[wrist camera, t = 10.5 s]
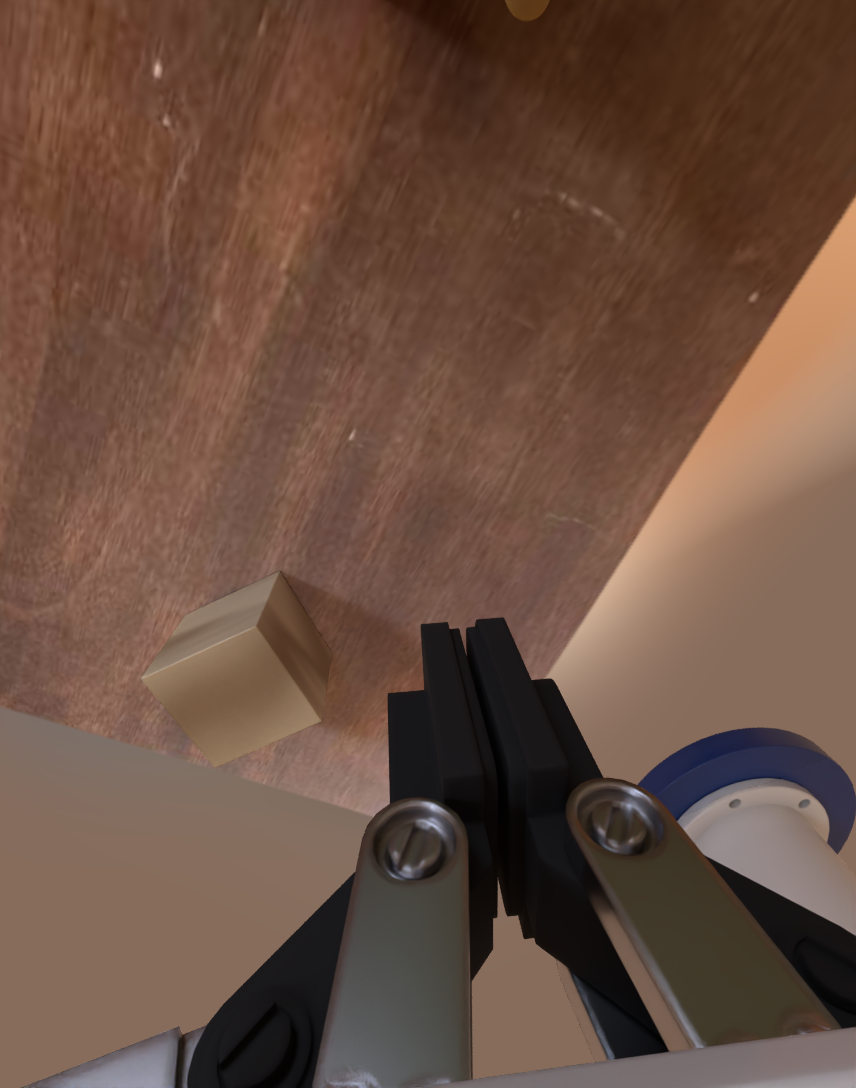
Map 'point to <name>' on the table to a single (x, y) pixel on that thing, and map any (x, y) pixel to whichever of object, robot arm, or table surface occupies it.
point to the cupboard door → (527, 8)
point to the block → (243, 671)
